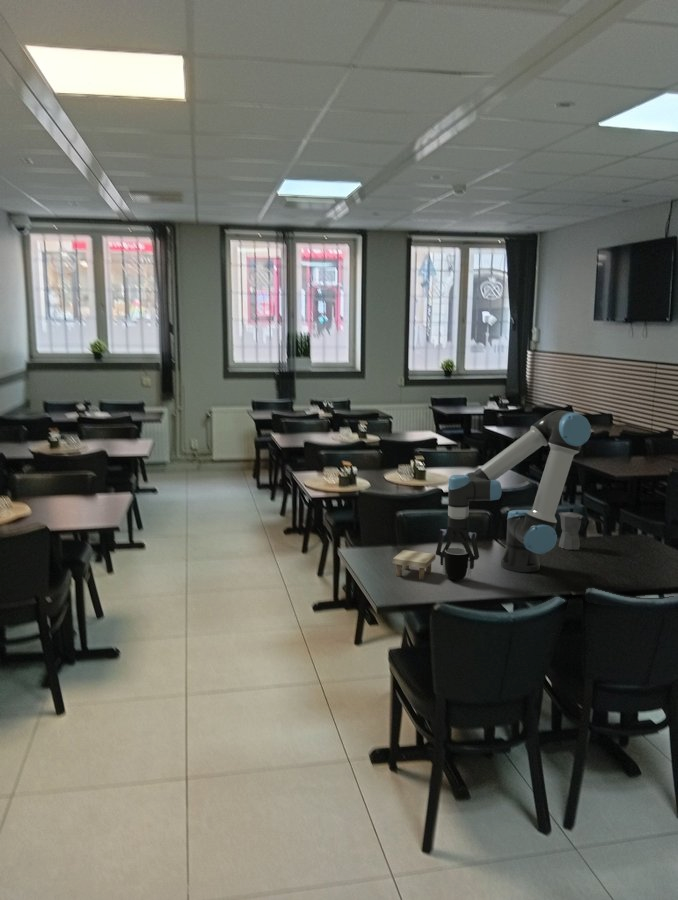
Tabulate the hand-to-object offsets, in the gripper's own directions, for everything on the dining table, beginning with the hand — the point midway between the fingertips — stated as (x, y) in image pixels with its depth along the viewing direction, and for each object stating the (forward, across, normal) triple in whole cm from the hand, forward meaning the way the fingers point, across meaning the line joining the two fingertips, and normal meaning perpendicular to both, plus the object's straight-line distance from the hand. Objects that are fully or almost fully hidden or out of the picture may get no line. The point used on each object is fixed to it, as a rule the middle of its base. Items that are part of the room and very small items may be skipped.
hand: (456, 575), depth 266 cm
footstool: (+1, +16, +1) cm, 17 cm away
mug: (+1, +1, 0) cm, 1 cm away
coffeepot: (+3, -35, -64) cm, 73 cm away
